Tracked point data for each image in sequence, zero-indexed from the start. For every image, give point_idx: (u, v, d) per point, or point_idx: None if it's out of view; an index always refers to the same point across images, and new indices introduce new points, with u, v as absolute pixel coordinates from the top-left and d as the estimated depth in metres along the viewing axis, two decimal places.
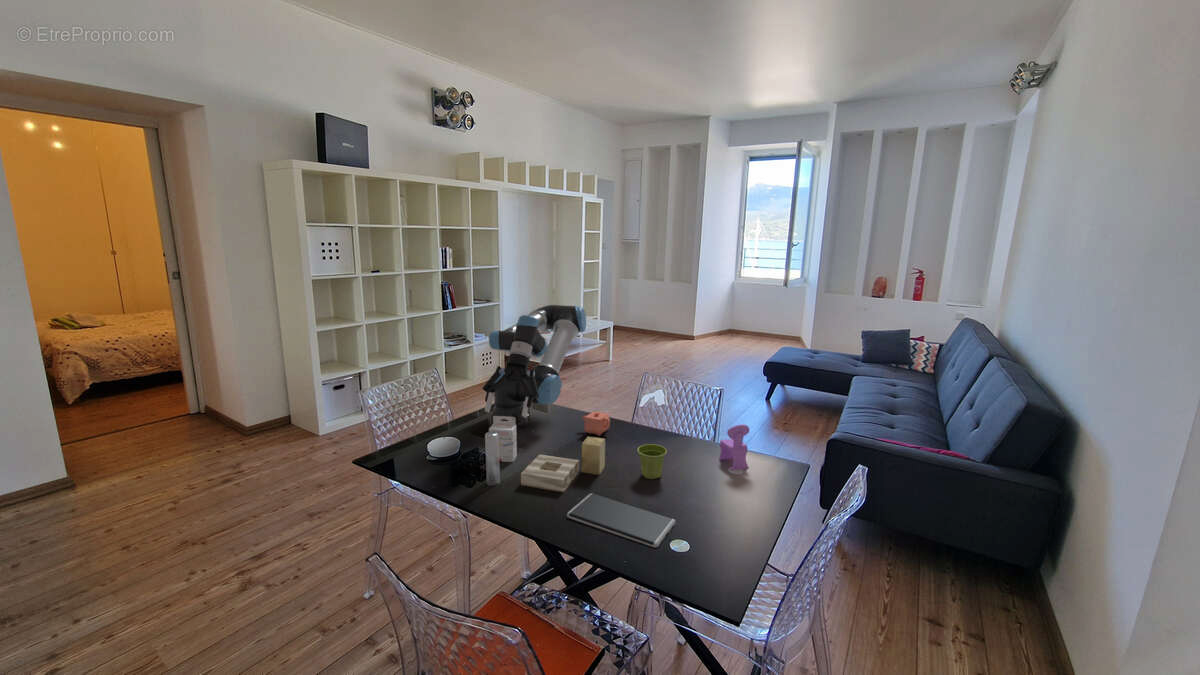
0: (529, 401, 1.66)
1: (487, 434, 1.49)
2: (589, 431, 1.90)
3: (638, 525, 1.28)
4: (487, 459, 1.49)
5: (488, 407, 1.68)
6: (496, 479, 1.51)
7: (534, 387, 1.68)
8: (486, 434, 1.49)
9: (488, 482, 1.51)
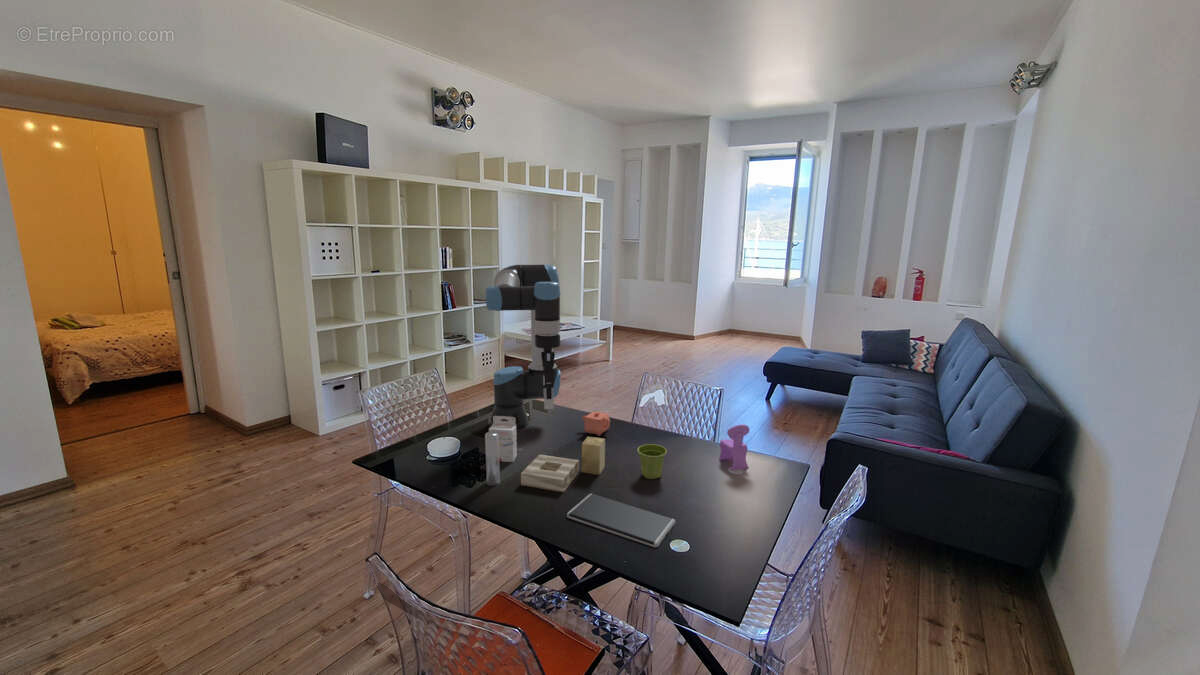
0: None
1: (487, 434, 1.49)
2: (589, 431, 1.90)
3: (638, 525, 1.28)
4: (487, 459, 1.49)
5: None
6: (496, 479, 1.51)
7: None
8: (486, 434, 1.49)
9: (488, 482, 1.51)
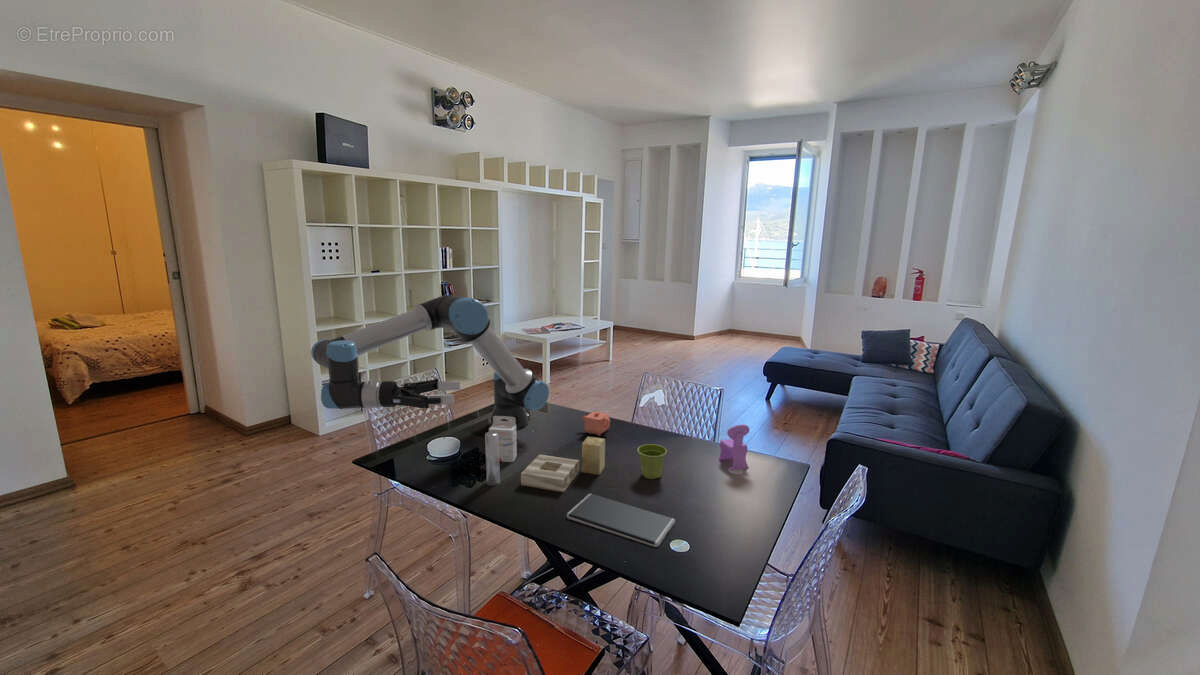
0: None
1: (487, 434, 1.49)
2: (589, 431, 1.90)
3: (638, 525, 1.28)
4: (487, 459, 1.49)
5: None
6: (496, 479, 1.51)
7: (426, 381, 1.52)
8: (486, 434, 1.49)
9: (488, 482, 1.51)
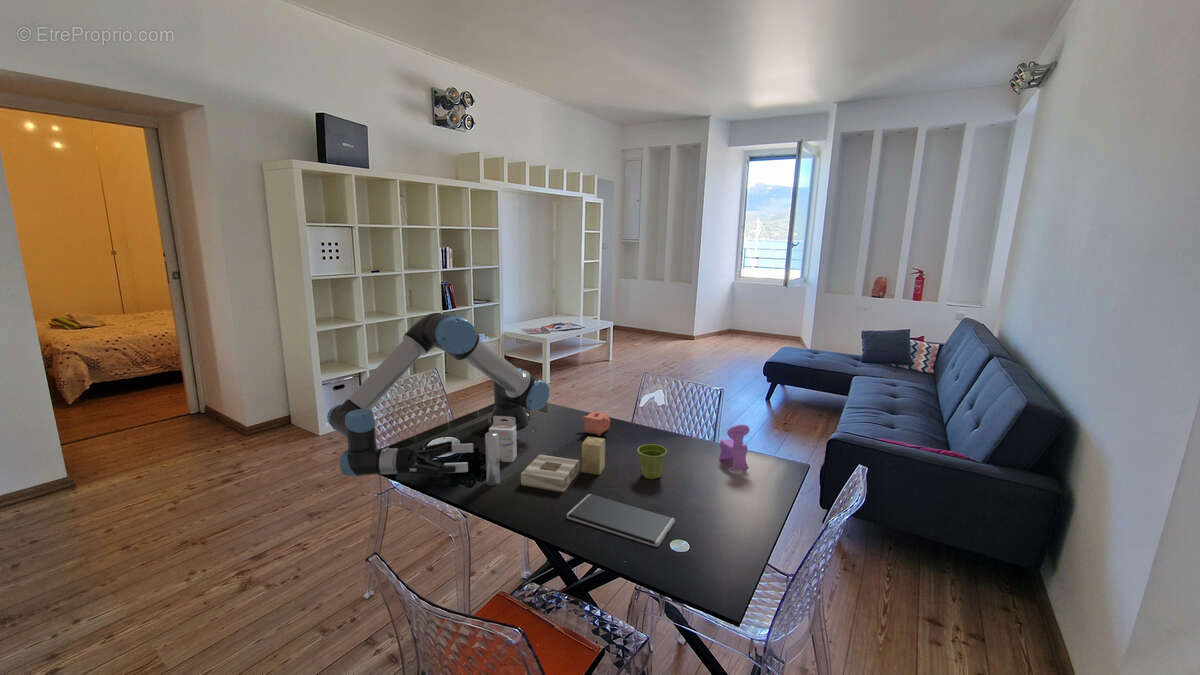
0: None
1: (487, 434, 1.49)
2: (589, 431, 1.90)
3: (638, 525, 1.28)
4: (487, 459, 1.49)
5: None
6: (496, 479, 1.51)
7: (441, 443, 1.57)
8: (486, 434, 1.49)
9: (488, 482, 1.51)
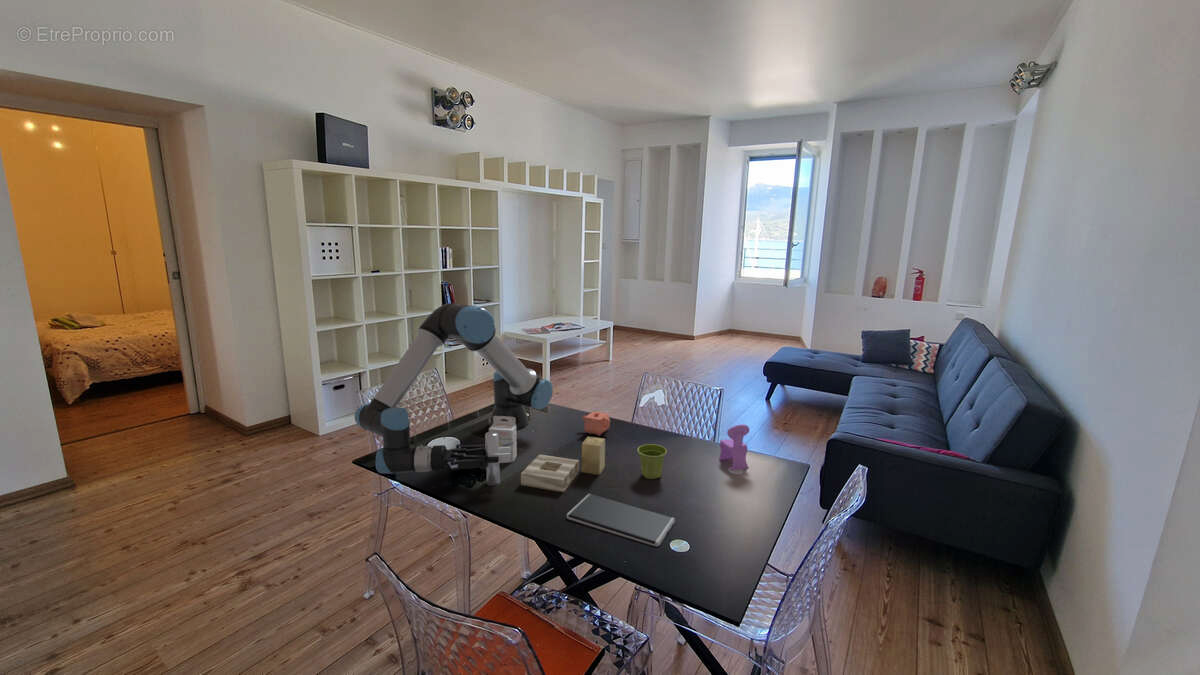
0: None
1: (487, 434, 1.49)
2: (589, 431, 1.90)
3: (639, 525, 1.28)
4: None
5: None
6: (496, 479, 1.51)
7: (477, 445, 1.55)
8: (486, 434, 1.49)
9: (488, 482, 1.51)
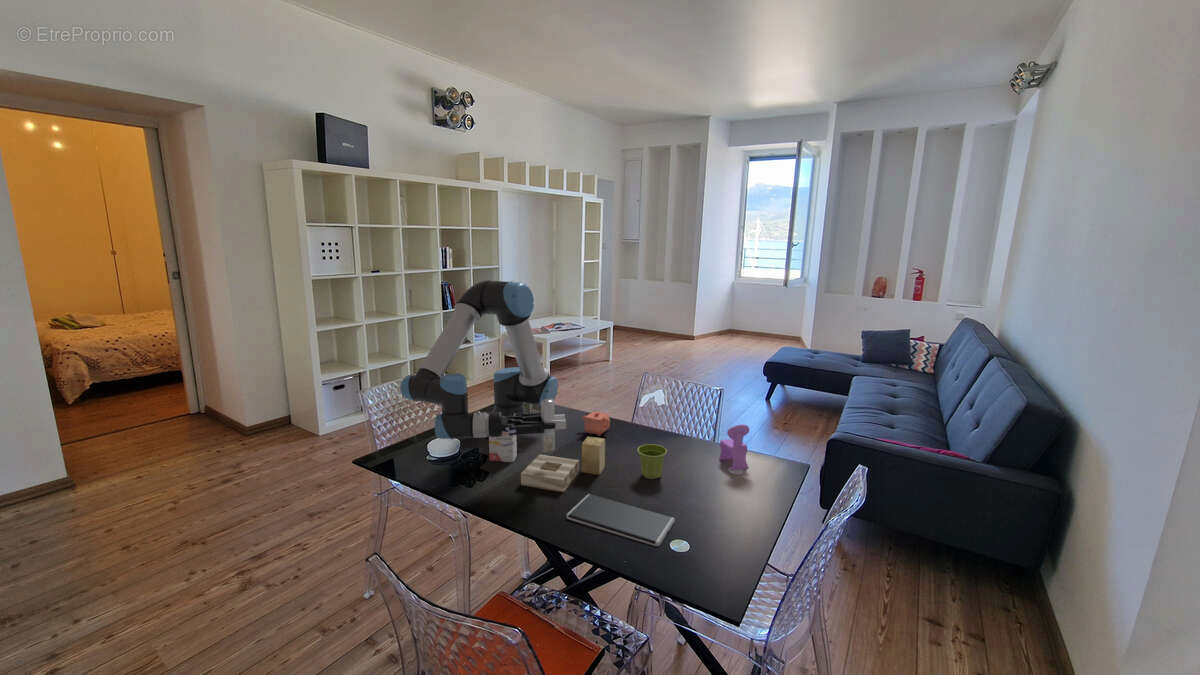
0: None
1: (543, 401, 1.50)
2: (589, 431, 1.90)
3: (639, 525, 1.29)
4: None
5: None
6: (551, 446, 1.51)
7: (532, 413, 1.56)
8: (542, 401, 1.50)
9: (544, 449, 1.52)
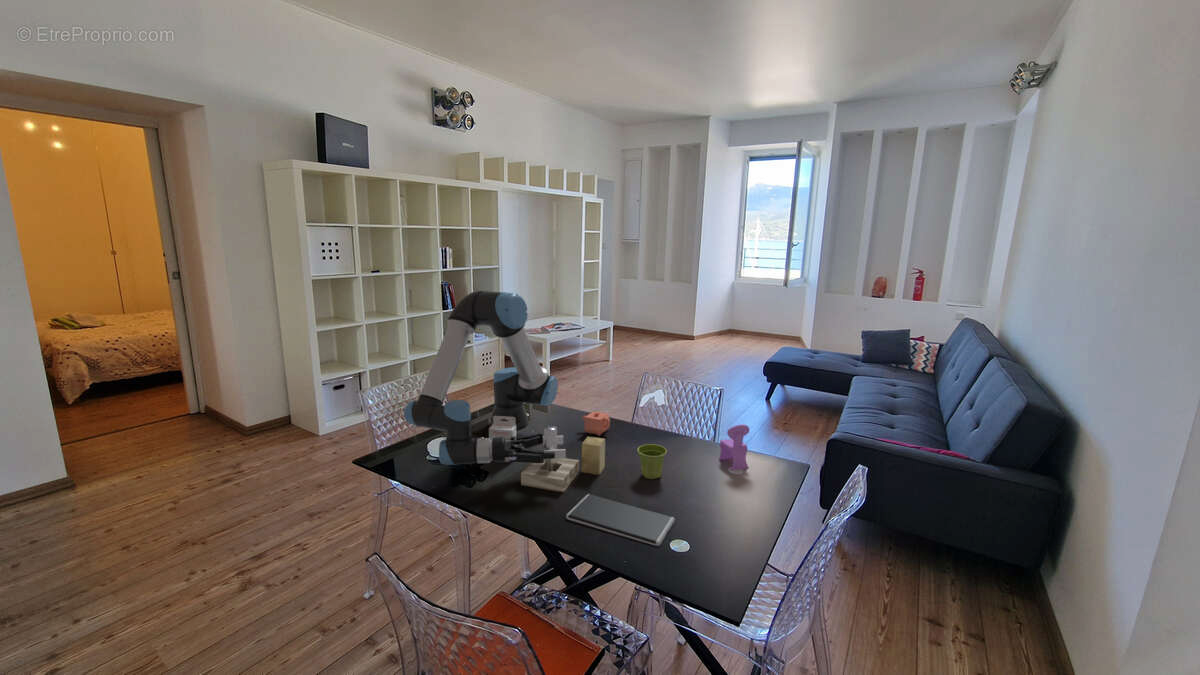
0: None
1: (546, 429, 1.52)
2: (589, 431, 1.90)
3: (639, 525, 1.29)
4: None
5: None
6: None
7: (531, 435, 1.60)
8: (545, 428, 1.52)
9: None
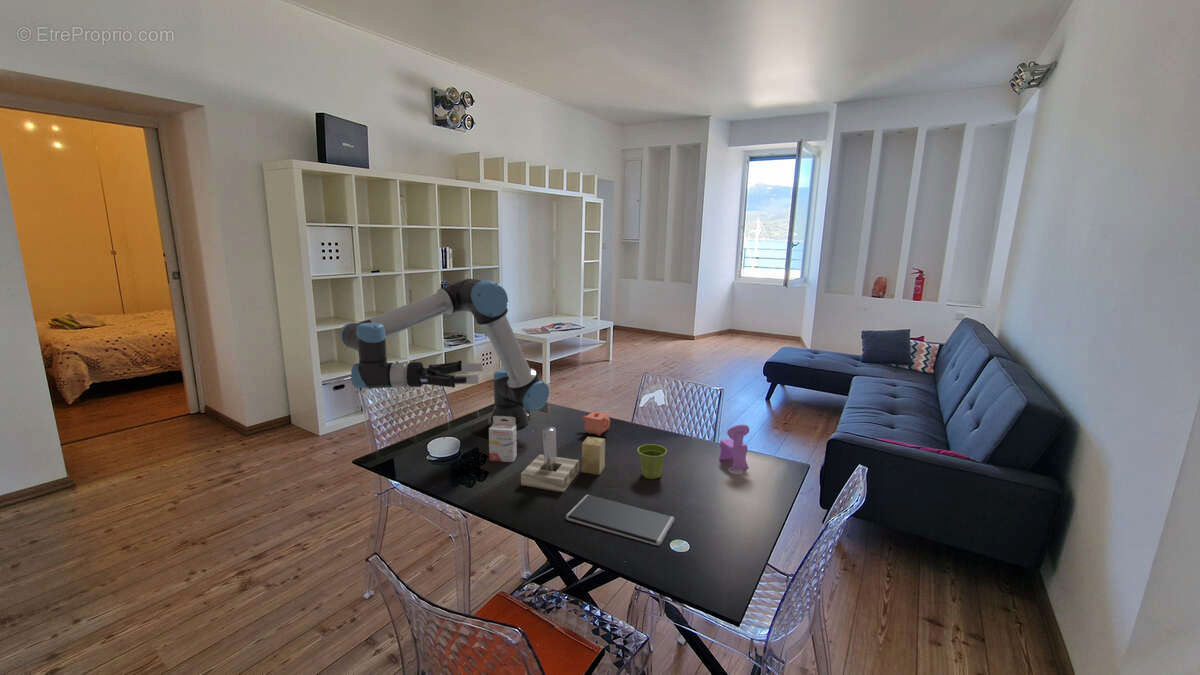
0: None
1: (545, 430, 1.51)
2: (589, 431, 1.90)
3: (639, 524, 1.29)
4: (545, 454, 1.52)
5: None
6: None
7: (450, 363, 1.57)
8: (544, 429, 1.52)
9: None
